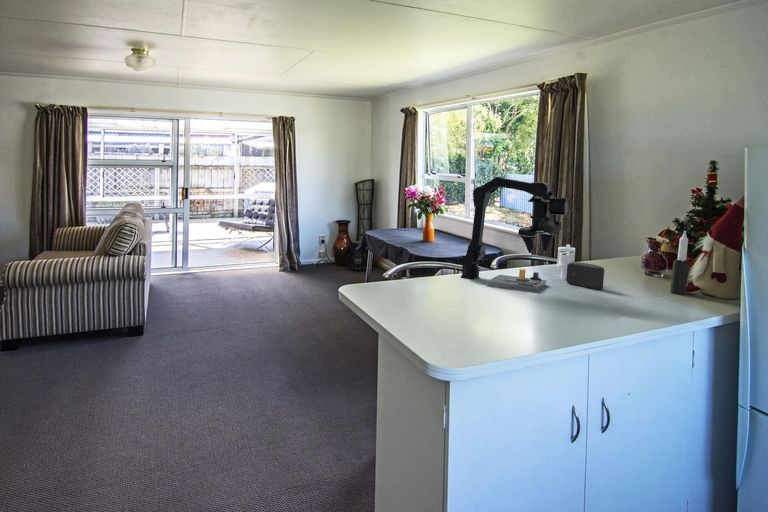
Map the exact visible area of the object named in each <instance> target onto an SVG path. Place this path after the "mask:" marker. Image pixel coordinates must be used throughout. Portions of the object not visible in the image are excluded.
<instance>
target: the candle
mask: <svg viewBox="0 0 768 512" xmlns="http://www.w3.org/2000/svg"><path fill="white" fill-rule="evenodd" d="M688 245H689V238H688V237H687V230H684V231H683V233H682V235H681V237H680V238H679V243H678V251H677V258H675V259H674V260H673V262H672V271H671V280H670V288H669V292H670V293H671V294H672V295H681V294H686V293H687V286H688V277H689V269H690V262H689V260H688V259H687V254H688Z"/></svg>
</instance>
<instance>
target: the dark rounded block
mask: <svg viewBox="0 0 768 512" xmlns="http://www.w3.org/2000/svg"><path fill="white" fill-rule="evenodd" d="M604 278H605V268H604V267H603V266H601V265H597V264H594V263H593V264H592V263H587V262H579V261H578V262H577V261H574V262H569V263H568V264H567V275H566V280H565V281H566V283H567V284H569V285H572V286H578V287H583V288H588V289H593V290H596V291H597V290H598V291H601V290H603V288H604V281H605V280H604Z"/></svg>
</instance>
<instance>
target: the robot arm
mask: <svg viewBox="0 0 768 512" xmlns="http://www.w3.org/2000/svg"><path fill="white" fill-rule="evenodd" d="M499 188H506V189H511V190H516V191H521V192H526V193H527V194H530V195H531V198H530V199H528V200H527V202H529V203H533V208H532V215H529V218H530V219H532V220H531V225H530V226H529V227H520V228H518V232H517V234H518V236H520V237H521V238H522V241H523V242H524V245H525V246H526V250H527V252H528V253H529V254H532V251H533V245H534V240H535V239H536V238H537V236H536V235H537V234H540V237H541V244H542V248H543V249H542V250H543V252H547V250H548V248H549V245H550V243H551V241H552V239H553V238H555V237H556V236H557V235H559V234H560V231H561V230H562V222H561V221H560V220H556V221H552V220H551V217H550V216H548V212H549V213H550V215H552V216H553V215H555V216H557V215H558V216H567V215H568V211H569V203H568V197H556V196H555V195H554V193H553V192H552V190H551V189H552V188H551V186H550V184H549V183H548V182H545V181H544V182H543V181H536V182H535V181H533V182H531V181H528V182H527V181H522V180H518V179H517V180H516V179H511V178H505V177H501V176H495V177H493V178H492V179H490V180H489V181H488V182H486V183H484V184H483V185H481V186H477V187H475V188H474V189H473V191H472V201H473V206H474V214H473V223H472V233H471V241H470V243H469V245H468V247H467V250H466V254H465V255H464V256H463V257H462V258H461V259H460V262H461V266H462V269H461V275H460V278H464V279H471V280H475V279H478V278H479V277H480V267H479V263H480V261H481V260H482V259H483V258H484V256H485V255H486V248H487V244H484V243H483V237H484V235H483V234H484V226H485V218H486V211H487V210H486V209H487V207H488V204H489V202H490V200H491V196H492V194H493V193H494V192H496V191H497V190H498V189H499Z"/></svg>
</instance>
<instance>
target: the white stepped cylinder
mask: <svg viewBox="0 0 768 512" xmlns="http://www.w3.org/2000/svg"><path fill="white" fill-rule="evenodd" d="M575 257H576V247H571V244H566V245H565V246H559V247H558V248H557V260H556V267H557V268H560V269H561V270H560V280H563V281H566V275H567V264H568V263H569V262H575Z"/></svg>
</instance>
